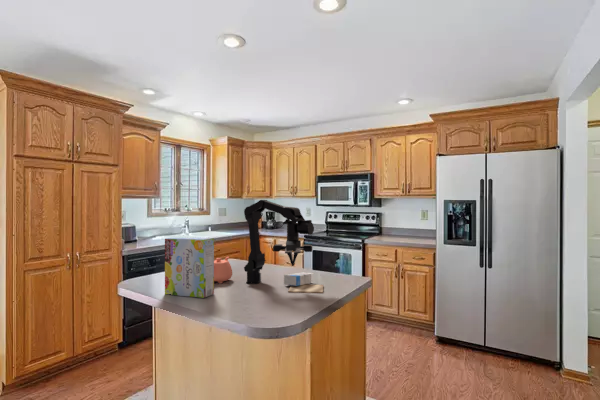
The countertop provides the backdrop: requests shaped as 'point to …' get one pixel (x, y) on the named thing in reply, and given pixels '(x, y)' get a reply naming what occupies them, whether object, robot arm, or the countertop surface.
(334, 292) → the countertop surface
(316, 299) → the countertop surface
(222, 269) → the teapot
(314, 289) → the cork trivet
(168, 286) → the snack box
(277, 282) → the countertop surface
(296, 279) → the ink box
